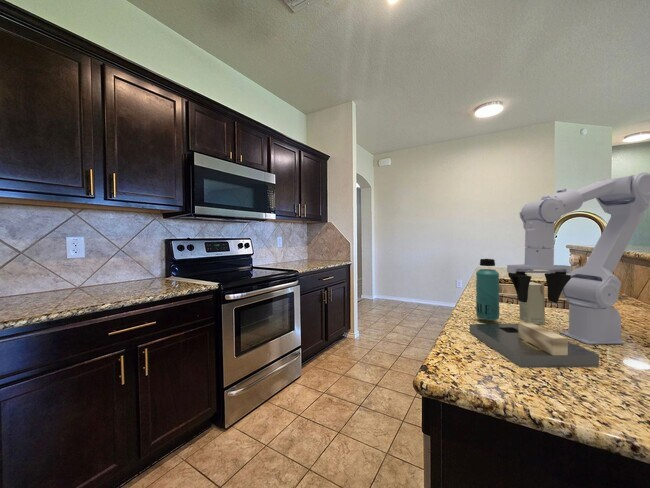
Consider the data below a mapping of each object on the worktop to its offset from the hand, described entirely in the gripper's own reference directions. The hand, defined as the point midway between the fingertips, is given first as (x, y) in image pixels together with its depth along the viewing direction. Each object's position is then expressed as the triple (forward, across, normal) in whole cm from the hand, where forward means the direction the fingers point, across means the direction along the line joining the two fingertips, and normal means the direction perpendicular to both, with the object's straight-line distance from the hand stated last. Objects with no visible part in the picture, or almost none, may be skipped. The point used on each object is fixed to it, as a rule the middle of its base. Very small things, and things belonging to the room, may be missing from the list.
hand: (537, 301), depth 68 cm
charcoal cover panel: (+10, +5, +3) cm, 12 cm away
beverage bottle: (+11, +3, -17) cm, 20 cm away
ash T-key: (+10, +5, +8) cm, 14 cm away
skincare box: (+10, -11, -16) cm, 22 cm away
